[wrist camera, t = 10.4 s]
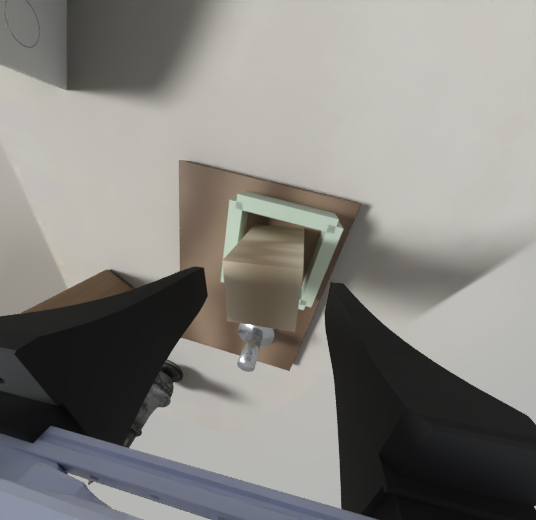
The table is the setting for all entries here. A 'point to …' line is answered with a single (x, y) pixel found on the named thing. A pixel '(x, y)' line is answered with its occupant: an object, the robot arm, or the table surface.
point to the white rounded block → (35, 39)
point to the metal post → (253, 344)
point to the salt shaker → (155, 398)
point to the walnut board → (214, 231)
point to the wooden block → (86, 292)
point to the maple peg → (265, 277)
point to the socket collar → (291, 214)
